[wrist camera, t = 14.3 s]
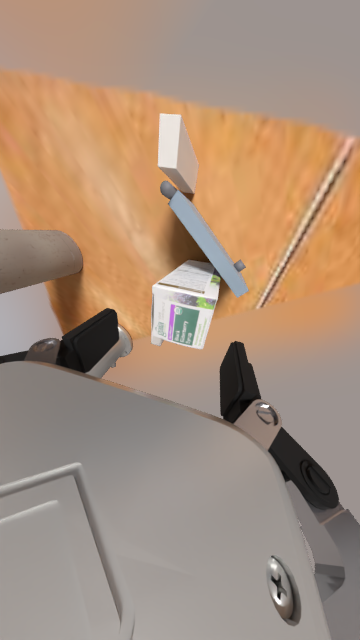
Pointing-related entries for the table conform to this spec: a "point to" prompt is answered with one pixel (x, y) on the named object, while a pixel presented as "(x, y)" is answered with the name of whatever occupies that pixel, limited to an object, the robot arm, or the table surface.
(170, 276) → the syrup box
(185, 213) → the door
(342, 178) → the table surface
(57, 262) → the thermos bottle
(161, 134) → the wall
